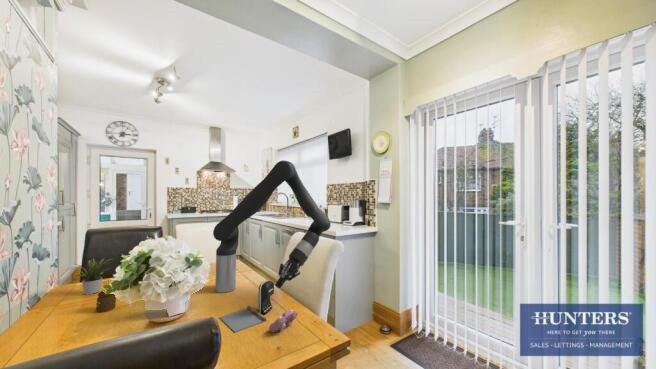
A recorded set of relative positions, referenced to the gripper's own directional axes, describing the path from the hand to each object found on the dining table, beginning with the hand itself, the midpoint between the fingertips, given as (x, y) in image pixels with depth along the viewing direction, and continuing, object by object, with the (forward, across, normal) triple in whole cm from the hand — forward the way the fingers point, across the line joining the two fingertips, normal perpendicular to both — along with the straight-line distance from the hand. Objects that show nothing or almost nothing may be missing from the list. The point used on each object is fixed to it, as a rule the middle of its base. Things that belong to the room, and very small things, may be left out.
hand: (277, 287), depth 105 cm
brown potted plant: (+43, -45, -30) cm, 69 cm away
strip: (+12, 0, -1) cm, 13 cm away
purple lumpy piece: (+11, +15, +1) cm, 19 cm away
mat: (+17, 0, -5) cm, 17 cm away
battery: (+10, 0, +3) cm, 10 cm away
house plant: (+45, -72, -32) cm, 91 cm away
